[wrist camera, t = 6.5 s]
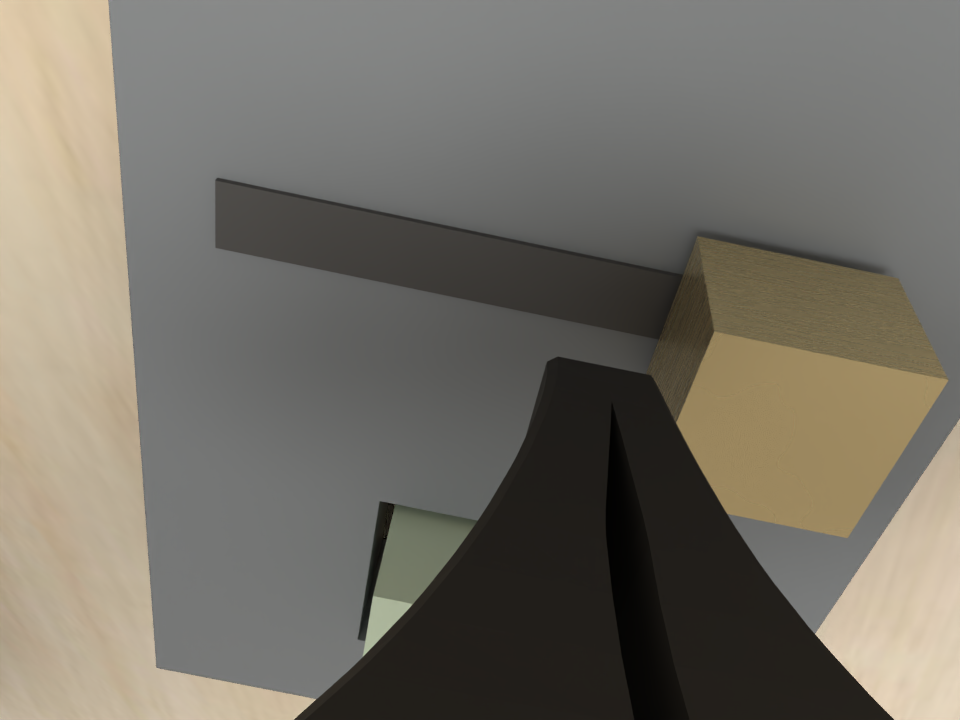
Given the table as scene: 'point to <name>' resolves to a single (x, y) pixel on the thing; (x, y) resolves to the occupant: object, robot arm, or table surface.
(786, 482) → the brass slider knob
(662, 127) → the switch panel
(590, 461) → the robot arm
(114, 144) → the table surface
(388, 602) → the sage button
